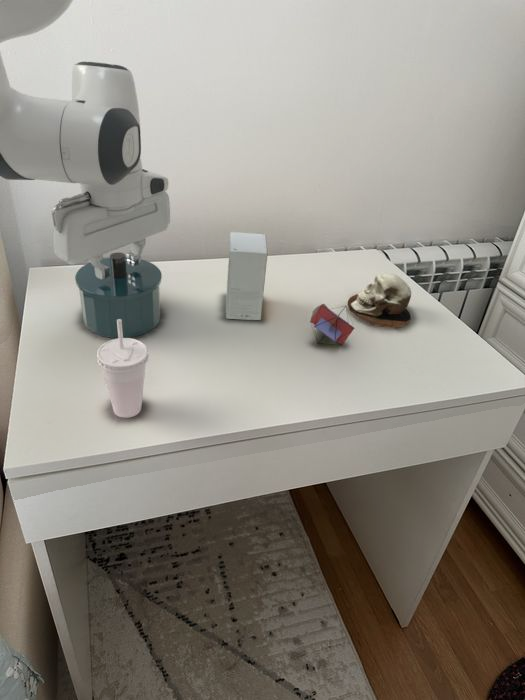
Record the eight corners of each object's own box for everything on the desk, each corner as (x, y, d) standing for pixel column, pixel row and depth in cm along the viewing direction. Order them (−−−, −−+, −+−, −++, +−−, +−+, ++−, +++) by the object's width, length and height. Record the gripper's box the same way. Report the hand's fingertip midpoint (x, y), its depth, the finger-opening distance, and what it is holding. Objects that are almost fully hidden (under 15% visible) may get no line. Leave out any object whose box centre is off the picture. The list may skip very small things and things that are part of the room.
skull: (356, 326, 93) (354, 268, 94) (342, 334, 103) (341, 282, 105) (422, 326, 94) (420, 270, 95) (402, 335, 104) (400, 283, 106)
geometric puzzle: (366, 330, 91) (346, 289, 88) (353, 350, 85) (332, 306, 83) (331, 340, 95) (311, 301, 93) (316, 359, 90) (295, 319, 88)
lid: (115, 312, 80) (112, 285, 77) (58, 281, 86) (53, 254, 83) (179, 282, 89) (178, 256, 86) (123, 255, 95) (121, 231, 92)
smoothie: (143, 389, 77) (139, 305, 69) (157, 417, 72) (153, 331, 64) (98, 399, 74) (87, 313, 66) (109, 429, 70) (99, 341, 61)
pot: (118, 347, 84) (115, 307, 80) (68, 317, 90) (62, 278, 86) (175, 317, 93) (174, 278, 88) (125, 291, 98) (122, 254, 94)
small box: (261, 321, 94) (268, 253, 87) (225, 319, 94) (228, 251, 86) (260, 298, 101) (266, 233, 93) (226, 296, 100) (229, 231, 93)
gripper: (65, 208, 70) (77, 300, 78) (176, 177, 84) (176, 257, 92) (36, 195, 72) (50, 285, 80) (147, 167, 86) (150, 246, 94)
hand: (118, 270), depth 86 cm, fingers open, 5 cm apart
